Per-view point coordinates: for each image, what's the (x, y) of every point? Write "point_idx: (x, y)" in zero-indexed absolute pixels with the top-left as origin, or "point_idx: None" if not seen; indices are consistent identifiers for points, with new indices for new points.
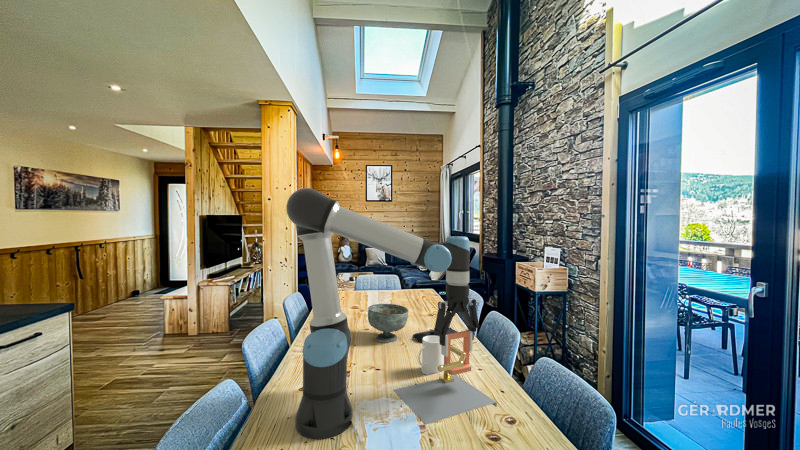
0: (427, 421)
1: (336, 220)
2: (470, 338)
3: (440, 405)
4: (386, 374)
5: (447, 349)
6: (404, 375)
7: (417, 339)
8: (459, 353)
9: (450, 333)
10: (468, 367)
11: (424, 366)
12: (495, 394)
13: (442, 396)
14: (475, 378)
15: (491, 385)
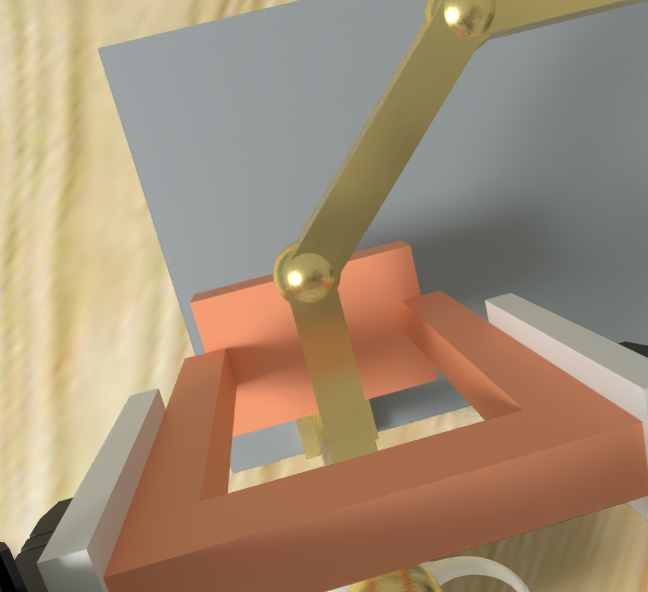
0: None
1: None
2: (120, 480)
3: (496, 100)
4: (643, 559)
5: (532, 317)
6: (546, 536)
7: None
8: (342, 316)
9: (521, 530)
10: (220, 294)
11: (448, 559)
12: (42, 205)
13: (441, 204)
14: (95, 440)
15: (17, 328)
